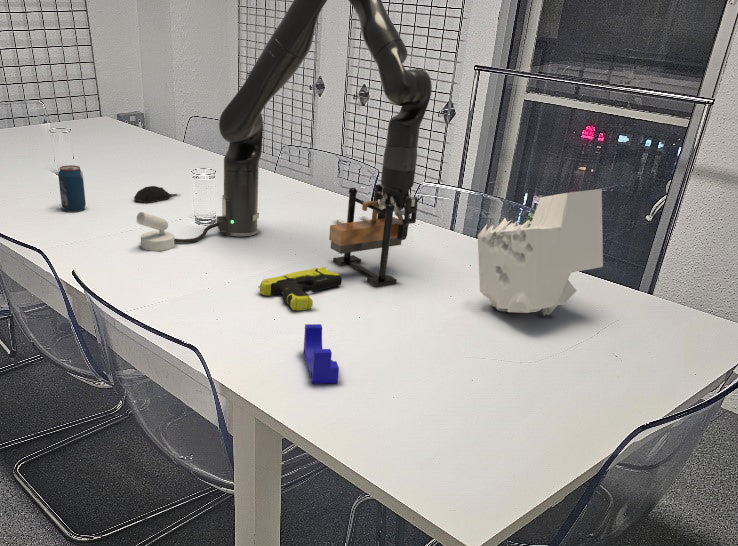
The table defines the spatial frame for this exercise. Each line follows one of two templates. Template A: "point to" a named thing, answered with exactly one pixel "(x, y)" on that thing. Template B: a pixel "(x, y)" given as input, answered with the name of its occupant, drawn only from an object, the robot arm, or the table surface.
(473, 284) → the table surface
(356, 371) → the table surface
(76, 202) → the soda can
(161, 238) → the white spotlight lamp
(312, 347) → the blue stepped block
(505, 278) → the jagged cream rock lump
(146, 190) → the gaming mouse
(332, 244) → the scrub brush
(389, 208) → the black hurdle stand
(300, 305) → the stun gun
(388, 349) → the table surface
